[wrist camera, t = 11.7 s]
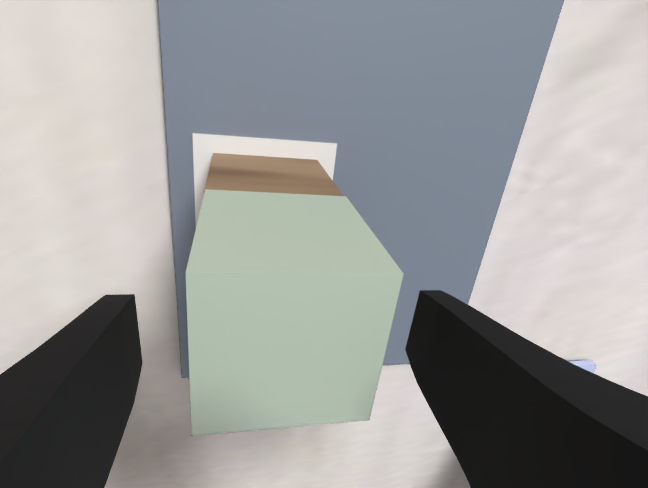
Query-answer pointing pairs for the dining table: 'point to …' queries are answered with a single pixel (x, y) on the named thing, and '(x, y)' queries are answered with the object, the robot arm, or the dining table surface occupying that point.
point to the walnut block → (269, 175)
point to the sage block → (285, 312)
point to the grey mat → (360, 117)
